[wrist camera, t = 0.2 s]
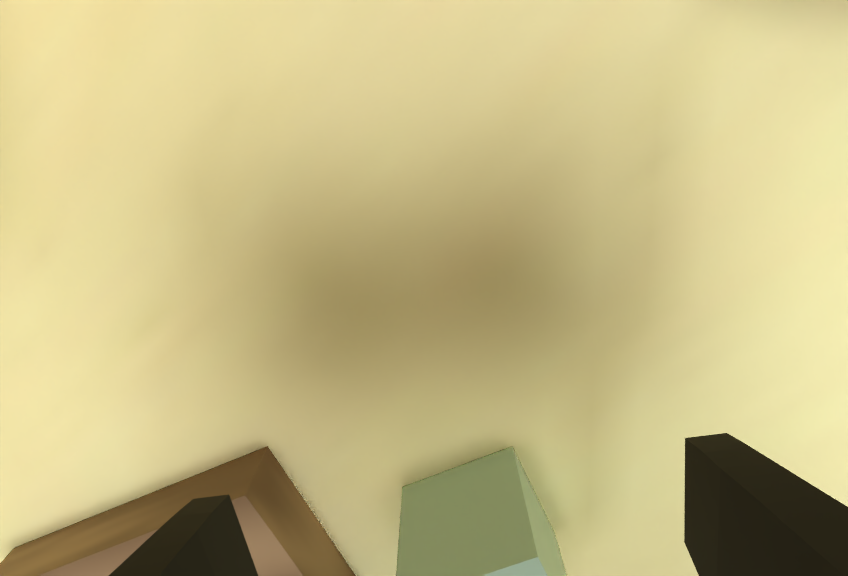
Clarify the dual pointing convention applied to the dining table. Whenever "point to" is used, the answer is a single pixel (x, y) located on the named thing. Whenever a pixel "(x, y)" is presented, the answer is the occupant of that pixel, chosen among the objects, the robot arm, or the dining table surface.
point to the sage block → (476, 523)
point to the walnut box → (139, 519)
